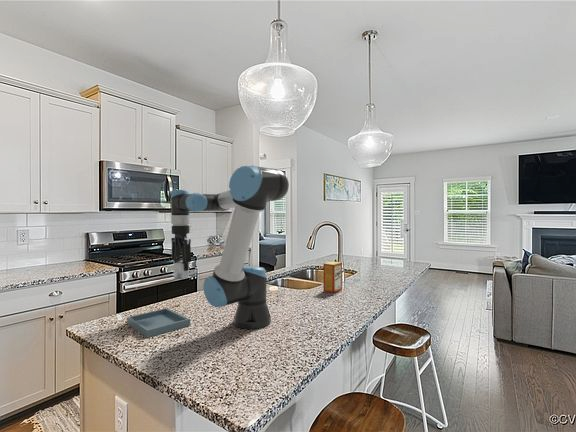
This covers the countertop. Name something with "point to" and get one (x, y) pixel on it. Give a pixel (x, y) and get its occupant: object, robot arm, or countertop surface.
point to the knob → (178, 270)
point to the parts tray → (157, 322)
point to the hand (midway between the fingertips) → (181, 276)
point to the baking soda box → (332, 276)
